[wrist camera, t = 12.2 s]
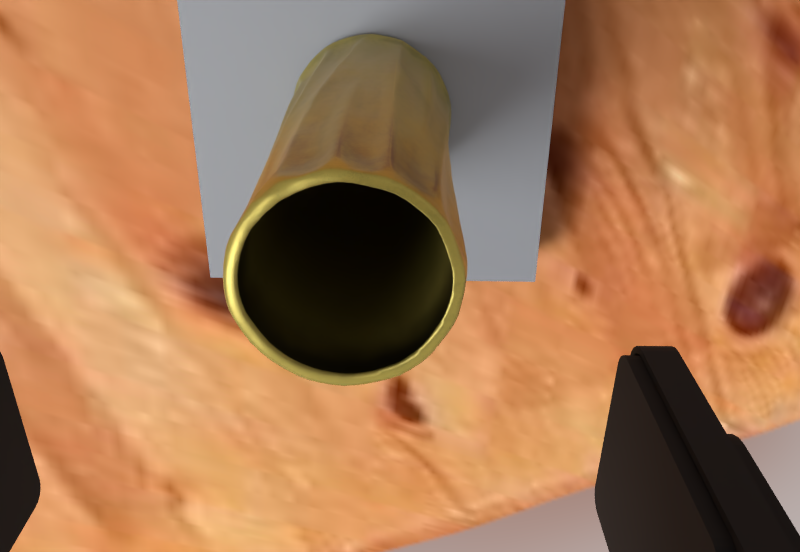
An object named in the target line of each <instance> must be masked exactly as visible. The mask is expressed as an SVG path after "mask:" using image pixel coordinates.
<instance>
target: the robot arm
mask: <svg viewBox="0 0 800 552" xmlns="http://www.w3.org/2000/svg"><path fill="white" fill-rule="evenodd" d="M39 496H40V480H39V476H38V473H37V469H36V466H35V463H34V459H33V456H32V453H31V449H30V446H29V443H28V439H27V436H26V433H25V429H24V426H23V423H22V419H21V416H20V413H19V409H18V406H17V403H16V399H15V396H14V393H13V389H12V386H11V383H10V379H9V376H8V372H7V369H6V366H5V362H4V359H3V356H2V354H1V352H0V552H9V551H10V550H11V548H12V546H13V545H14V543H15V541H16V539H17V538H18V536H19V534H20V533H21V531H22V529H23V527H24V526H25V524H26V522H27V521H28V519H29V517H30V516H31V514H32V512H33V510H34V509H35V507H36V505H37V503H38V500H39ZM595 504H596V509H597V513H598V517H599V520H600V523H601V527H602V530H603V533H604V536H605V540H606V542H607V546H608V549H609V552H800V536H799V534H798V532H797V531H796V529H795V527H794V526H793V524H792V522H791V521H790V519H789V517H788V516H787V514H786V512H785V511H784V509H783V507H782V506H781V504H780V503H779V501H778V499H777V498H776V496H775V495H774V493H773V491H772V489H771V488H770V486H769V484H768V483H767V481H766V479H765V478H764V476H763V475H762V473H761V471H760V470H759V468H758V466H757V465H756V463H755V462H754V460H753V458H752V457H751V455H750V453H749V452H748V450H747V448H746V447H745V445H744V444H743V442H742V441H741V440H740V439H739V437H737V436H735V435H733V434H726V432H725V430H724V429H723V427H722V425H721V423H720V422H719V420H718V418H717V417H716V415H715V413H714V411H713V410H712V408H711V406H710V405H709V403H708V401H707V400H706V398H705V396H704V394H703V393H702V391H701V389H700V388H699V386H698V384H697V383H696V381H695V379H694V377H693V376H692V374H691V372H690V371H689V369H688V367H687V365H686V364H685V362H684V360H683V359H682V357H681V355H680V354H679V352H678V350H677V349H676V348H675V347H672V346H636V347H634V348H633V350H632V352H631V355H623V356H621V357H620V359H619V362H618V367H617V372H616V378H615V383H614V388H613V394H612V399H611V404H610V410H609V415H608V421H607V426H606V431H605V437H604V442H603V447H602V453H601V458H600V463H599V469H598V474H597V479H596V485H595Z"/></svg>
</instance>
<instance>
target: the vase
mask: <svg viewBox="0 0 800 552" xmlns="http://www.w3.org/2000/svg"><path fill="white" fill-rule="evenodd" d="M450 125H451V103H450V99H449V95H448V92H447V89H446V86H445V84H444V82H443V80H442V78H441V76H440V74H439V72H438V70H437V69H436V68H435V66H434V65H433V64H432V63H431V62H430V61H429V60H428V59H427V58H426V57H425V56H423V55H422V54H421V53H420V52H418V51H417V50H416V49H414V48H413V47H412V46H410V45H409V44H407V43H405V42H404V41H402V40H399V39H396V38H392V37H388V36H382V35H376V34H362V35H356V36H351V37H348V38H344V39H341V40H338V41H336V42H334V43H332V44H330V45H328V46H326V47H325V48H324V49H323V50H321V51H320V52H319V53H318V54H317V55H316V56H315V57H314V58H313V59H312V60H311V61H310V63H309V64H308V65H307V67H306V68H305V70H304V71H303V72H302V74H301V75H300V77H299V79H298V82H297V84H296V88H295V91H294V96H293V97H292V99H291V101H290V103H289V106H288V108H287V111H286V113H285V116H284V119H283V121H282V124H281V126H280V129H279V132H278V135H277V137H276V140H275V142H274V145H273V147H272V150H271V152H270V155H269V158H268V160H267V162H266V165H265V167H264V169H263V171H262V174H261V176H260V178H259V180H258V182H257V185H256V187H255V189H254V191H253V194H252V196H251V198H250V200H249V203H248V205H247V207H246V209H245V210H244V212H243V214H242V216H241V218H240V220H239V221H238V223H237V225H236V226H235V228H234V230H233V232H232V233H231V235H230V238H229V240H228V243H227V246H226V250H225V256H224V263H223V285H224V293H225V298H226V302H227V306H228V308H229V310H230V312H231V314H232V317H233V318H234V320H235V321H236V323H237V325H238V326H239V328H240V329H241V330H242V332H243V333H244V335H245V336H246V337H247V338H248V340H249V341H250V342H251V343H252V344H253V345H254V346H255V347H256V348H257V349H258V350H259V351H260V352H261V353H262V354H264V355H265V356H266V357H267V358H269V359H270V360H272V361H273V362H275V363H276V364H278V365H279V366H281V367H283V368H284V369H286V370H288V371H290V372H292V373H294V374H296V375H298V376H300V377H303V378H305V379H308V380H312V381H316V382H320V383H326V384H332V385H341V386H347V385H360V384H367V383H372V382H378V381H382V380H386V379H390V378H393V377H396V376H399V375H401V374H403V373H405V372H407V371H409V370H411V369H412V368H414V367H415V366H417V365H418V364H420V363H421V362H423V361H424V360H425V359H426V358H427V357H428V356H430V355H431V354H432V352H433V351H434V350H435V349H436V347H437V346H438V345H439V344H440V343H441V341H442V340H443V339H444V338H445V336H446V335H447V334H448V332H449V331H450V329H451V328H452V326H453V325H454V323H455V321H456V319H457V317H458V315H459V311H460V308H461V304H462V300H463V296H464V291H465V285H466V279H467V255H466V249H465V243H464V238H463V233H462V229H461V224H460V219H459V213H458V207H457V201H456V196H455V192H454V187H453V181H452V173H451V163H450V156H449V145H448V141H449V131H450Z"/></svg>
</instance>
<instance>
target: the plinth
mask: <svg viewBox="0 0 800 552" xmlns="http://www.w3.org/2000/svg"><path fill="white" fill-rule="evenodd" d="M177 2H178V11H179V19H180V27H181V36H182V44H183V52H184V60H185V69H186V77H187V85H188V94H189V102H190V110H191V119H192V127H193V135H194V144H195V152H196V160H197V168H198V177H199V185H200V193H201V202H202V210H203V218H204V227H205V235H206V243H207V252H208V260H209V268H210V277H219V278H223V263H224V256H225V250H226V246H227V243H228V240H229V238H230V235H231V233H232V232H233V230H234V228H235V226H236V225H237V223H238V221H239V220H240V218H241V216H242V214H243V212H244V210H245V209H246V207H247V205H248V203H249V200H250V198H251V196H252V194H253V191H254V189H255V187H256V185H257V182H258V180H259V178H260V176H261V174H262V171H263V169H264V167H265V165H266V162H267V160H268V158H269V155H270V152H271V150H272V147H273V145H274V142H275V140H276V137H277V135H278V132H279V129H280V126H281V124H282V121H283V119H284V116H285V113H286V111H287V108H288V106H289V103H290V101H291V99H292V97H293V96H294V91H295V88H296V84H297V82H298V79H299V77H300V75H301V74H302V72H303V71H304V70H305V68H306V67H307V65H308V64H309V63H310V61H311V60H312V59H313V58H314V57H315V56H316V55H317V54H318V53H319V52H320V51H321V50H323V49H324V48H325V47H326V46H328V45H330V44H332V43H334V42H336V41H338V40H341V39H344V38H348V37H351V36H356V35H362V34H376V35H382V36H388V37H392V38H396V39H399V40H402V41H404V42H405V43H407V44H409V45H410V46H412V47H413V48H414V49H416V50H417V51H418V52H420V53H421V54H422V55H423V56H425V57H426V58H427V59H428V60H429V61H430V62H431V63H432V64H433V65H434V66H435V68H436V69H437V70H438V72H439V74H440V76H441V78H442V80H443V82H444V84H445V86H446V89H447V92H448V95H449V99H450V103H451V125H450V131H449V141H448V145H449V156H450V163H451V173H452V181H453V187H454V192H455V196H456V201H457V207H458V213H459V219H460V224H461V229H462V233H463V238H464V243H465V249H466V255H467V279H466V281H523V282H535V277H536V267H537V258H538V249H539V240H540V230H541V221H542V212H543V203H544V193H545V184H546V175H547V166H548V156H549V147H550V138H551V129H552V119H553V110H554V101H555V92H556V82H557V73H558V64H559V55H560V45H561V36H562V27H563V18H564V8H565V0H177Z"/></svg>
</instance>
